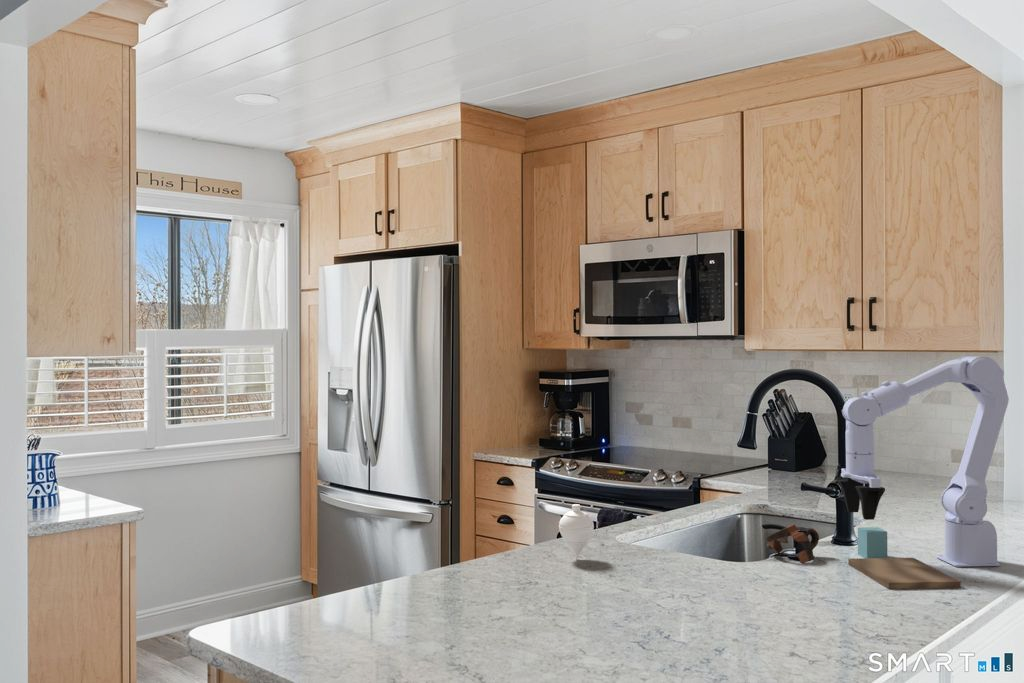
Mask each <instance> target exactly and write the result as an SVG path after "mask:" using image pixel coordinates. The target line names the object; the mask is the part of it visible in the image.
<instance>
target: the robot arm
mask: <svg viewBox="0 0 1024 683" xmlns="http://www.w3.org/2000/svg"><path fill="white" fill-rule="evenodd" d="M1004 374H1005V371H1004V369H1002V367H1000V365H999V364H998V363H997V361H995V359H993V358H991V357H989V356H984V355H982V356H974V355H962V356H960V357H959V358H957V359H951V360H949V361H946V362H944V363H941V364H939V365H937V366H935V367H933V368H931V369H929V370H927V371H925V372H923V373H921V374H918V375H917V376H916V377H912V378H911V379H909V380H907V381H905V382H903V383H901V382H899V381H895V380H894V381H889V380H885V381H883V382H881V385H882V386H879V387H877V388H875V389H873V390H870V391H868V392H867V391H863V392H861V397H860V396H859V397H857V396H855V397H852V398H849V399H847V401H846V402H845V403H844V405H843V407H842V409H841V413H842V416H843V418H844V419H845V468H841V469H840V470H841V473H840V477H842V478H843V479H837V480H836V481H837V484H838V486H839V488H840V490H841V493H842V495H843V498H844V502H845V506H846V510H847V513H859V511H860V506H861V514H862V519H863V520H866V521H868V520H872V521H874V520H875V518H876V514H877V511H878V507H879V503H880V500H881V498H882V497H883V495H884V493H885V491H886V488H885V487H883V486H882V485H881V482H882V480H881V478H880V477H878V476H877V474H876V473H875V432H874V422H875V421H876V420H877V417H883V416H884V415H887V414H889V413H891V412H894V411H897V410H898V409H900V408H903V407H905V406H907V405H908V403H909V401H910V398H911V397H913V396H916V395H918V394H921V393H923V392H925V391H928V390H930V389H933V388H935V387H939V386H941V385H943V384H945V383H957V384H958V383H959V384H961V385H962V386H964V387H965V388H966V389H968V390H969V391H970V393H971V394H972V395H973V396H974V398H975V399H976V401H977V402H978V404H977V407H976V411H975V414H974V418H973V421H972V424H971V427H970V431H969V434H968V437H967V440H966V444H965V448H964V452H963V454H962V457H961V461H960V464H959V468H958V471H957V473H956V474H955V475H953V477H952V478H951V479H950V483H949V484H948V486H947V488H945V489H944V490H943V492H942V493H941V497H940V503H941V506H942V507H943V509H944V510H945V511H946V514H945V515H944V554H937V555H936V558H937V559H940V560H941V561H944V562H945V563H948V564H950V565H952V566H954V567H957V568H958V567H999V566H1000V563H999V562H998V534H997V530H996V527H995V525H994V524H993V523H992V522H991V521H990V520H986V519H985V520H984V518H985V517H986V514H987V512H988V503H987V494H988V488H987V484H986V477H987V474H988V471H989V467H990V465H991V461H992V458H993V454H994V451H995V448H996V446H997V445H996V444H997V442H998V438H999V434H1000V431H1001V428H1002V425H1003V421H1004V418H1005V415H1006V411H1007V408H1008V405H1009V401H1010V400H1009V395H1008V391H1007V387H1006V384H1005V380H1004Z"/></svg>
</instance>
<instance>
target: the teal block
mask: <svg viewBox="0 0 1024 683" xmlns="http://www.w3.org/2000/svg"><path fill="white" fill-rule="evenodd" d="M857 555H858V556H861V557H862V558H889V557H888V531H887V530H884V529H883V528H881V527H877V526H875V527H874V526H872V527H871V526H870V527H865V526H864V527H857Z"/></svg>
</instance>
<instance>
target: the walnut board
mask: <svg viewBox="0 0 1024 683" xmlns="http://www.w3.org/2000/svg"><path fill="white" fill-rule="evenodd" d="M847 561H848V565H849V566H850V567H852V568H854V569H855V570H857V571H858V572H860V573H862V574H863V575H865V576H867V577H868V578H870V579H872V580H873V581H874V582H876V583H878V584H880V585H882V586H883V587H885V588H886V589H888V590H905V589H906V590H907V589H909V588H910V589H909V590H911V589H912V590H915V589H914V588H918V590H919V588H921V589H958V588H959V589H961V587H962V586H961V581H960V580H958V579H957V578H955V577H953V576H951V575H949V574H947V573H945V572H942V571H941V570H939V569H937V568H935V567H932V566H931V565H929V564H926V563H924V562H923V561H921V560H919V559H917V558H915V557H888V558H863V557H862V558H861V557H860V558H848V560H847Z"/></svg>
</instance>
